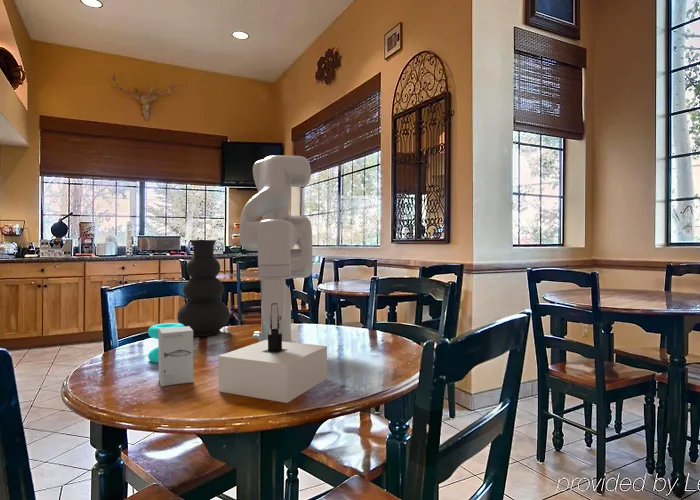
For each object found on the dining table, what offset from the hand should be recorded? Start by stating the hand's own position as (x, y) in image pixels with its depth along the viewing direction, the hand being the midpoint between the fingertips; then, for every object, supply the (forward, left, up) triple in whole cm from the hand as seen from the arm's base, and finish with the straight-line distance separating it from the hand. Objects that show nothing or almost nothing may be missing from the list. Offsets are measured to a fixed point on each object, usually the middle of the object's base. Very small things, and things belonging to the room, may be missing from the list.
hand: (275, 350), depth 102 cm
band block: (0, 0, -8) cm, 8 cm away
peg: (0, 0, -8) cm, 8 cm away
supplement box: (-24, -7, -8) cm, 26 cm away
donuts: (-42, +7, -8) cm, 44 cm away
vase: (-58, +39, -8) cm, 70 cm away
